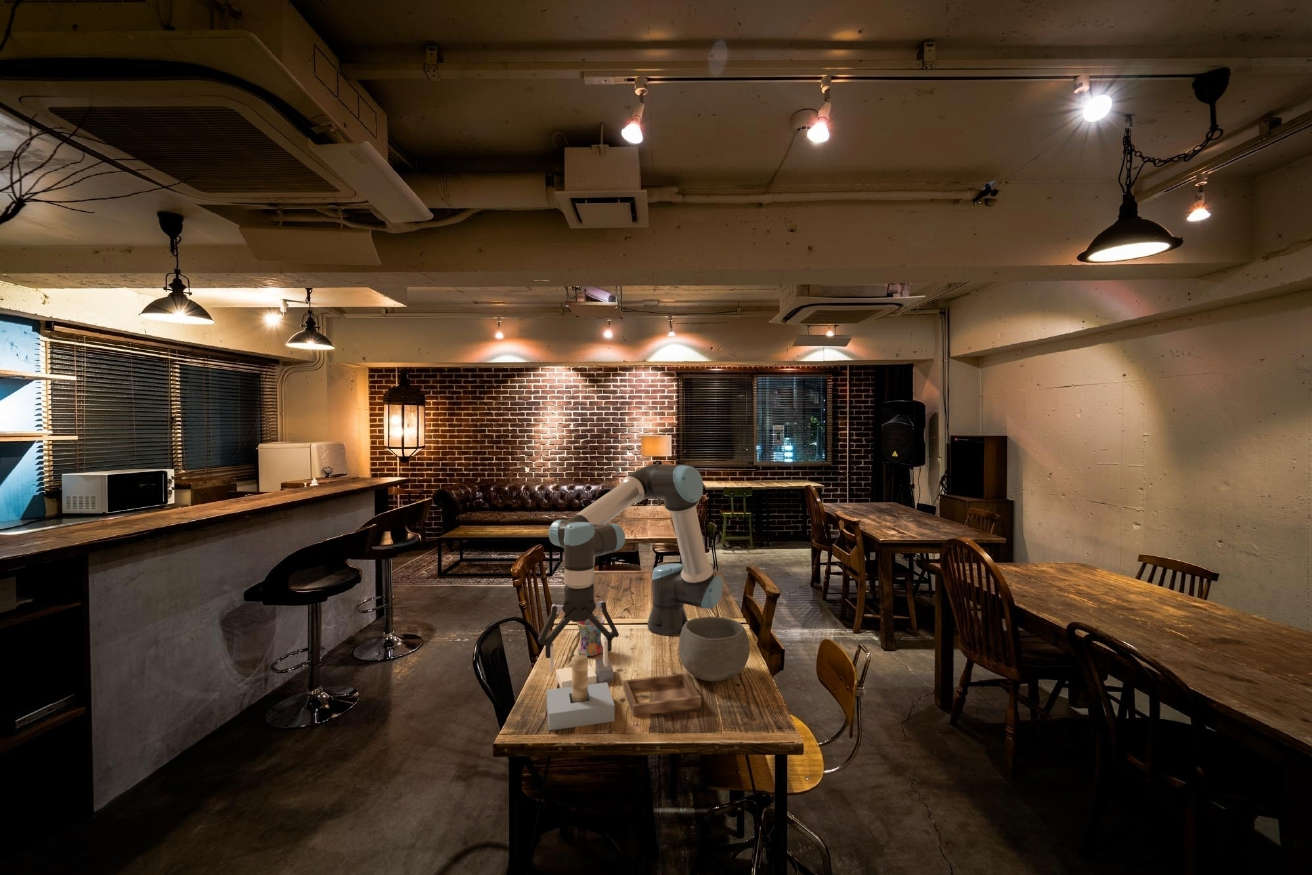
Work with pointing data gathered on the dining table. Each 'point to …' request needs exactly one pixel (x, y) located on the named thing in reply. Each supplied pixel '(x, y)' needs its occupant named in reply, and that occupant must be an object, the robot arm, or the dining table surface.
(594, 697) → the dowel block
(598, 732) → the dining table surface
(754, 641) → the dining table surface
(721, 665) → the bowl
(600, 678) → the block
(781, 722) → the dining table surface
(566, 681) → the cream rectangular block
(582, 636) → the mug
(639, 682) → the tray
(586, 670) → the dowel
